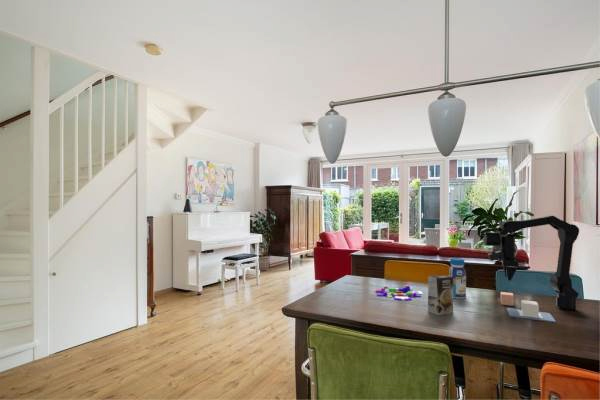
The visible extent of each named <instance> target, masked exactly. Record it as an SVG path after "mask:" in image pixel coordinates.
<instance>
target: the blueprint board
mask: <svg viewBox="0 0 600 400" xmlns="http://www.w3.org/2000/svg"><path fill="white" fill-rule="evenodd" d="M506 310H507V313H508V315H509V317H511V318H519V319H527V320H534V321H540V322H541V321H542V322H549V323H557V321H556V320H555V318H554V317H553V315H552V314H551V313H550V312H545V311H544V312H542V311H539V317H537V316H529V315H523V314H522V312H521V309H518V308H512V307H511V308H510V307H506Z"/></svg>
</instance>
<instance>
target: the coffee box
mask: <svg viewBox="0 0 600 400" xmlns="http://www.w3.org/2000/svg"><path fill="white" fill-rule="evenodd" d="M427 277H428V280H427V282H428V283H427V285H428V286H427V312H429V313H432V314H434V315H436V316H443V315H449V314H453V313H454V298H453V277H451V276H449V275H447V274H446V275H445V274H437V275H435V274H434V275H428V276H427Z"/></svg>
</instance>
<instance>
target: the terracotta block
mask: <svg viewBox="0 0 600 400" xmlns="http://www.w3.org/2000/svg"><path fill="white" fill-rule="evenodd" d="M514 297H515V296H514V293H512V292H505V291H500V304H501V305H503V306H511V307H513V306H514V305H515V303H514V299H515V298H514Z"/></svg>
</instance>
